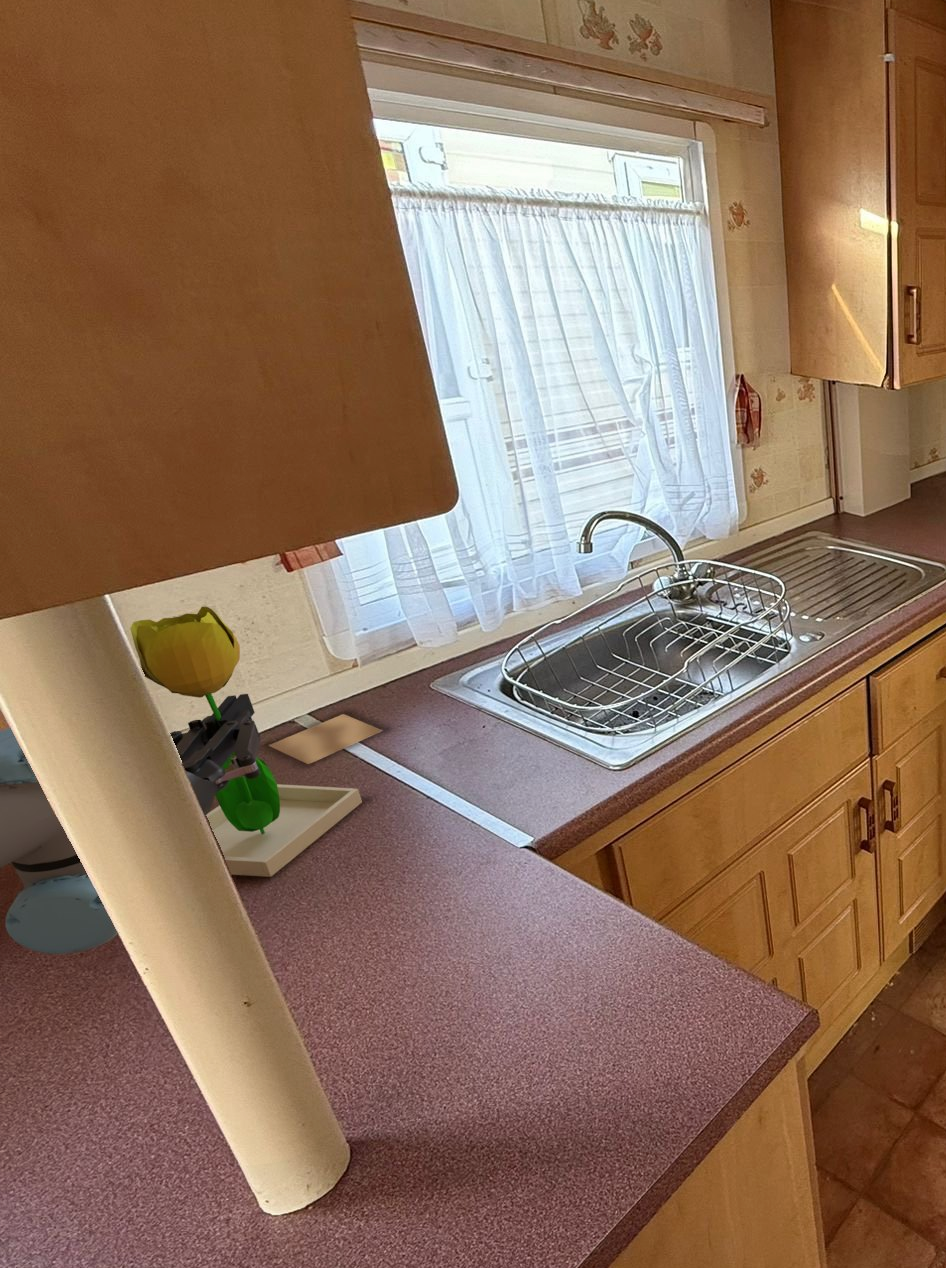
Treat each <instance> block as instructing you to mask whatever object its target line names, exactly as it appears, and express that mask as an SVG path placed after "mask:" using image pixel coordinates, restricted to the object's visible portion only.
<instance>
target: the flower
mask: <svg viewBox="0 0 946 1268" xmlns="http://www.w3.org/2000/svg"><path fill="white" fill-rule="evenodd" d="M129 628H130V633H131V636H132V641H133V645H134V649H135V651H136V653H137V656H138V659H139V664H140V669H141V668H142V670H143V672H144V674H145V676H144V677H145V678H147V679H148V680H150V681H152V682H153V683H155V684H156V685H159V686H161V687H163V688H165V689H167V690H168V691H169V692H170V693H171V694H178V695H180V696H185V697H193V698H203V697H205V698H206V700H207V703H208V705H209V707H210V709H211V711H212V714H213V713H214V715H215V718H216V720H217V722H218V721H219V720H220V718H221V715H220V713H219V710H218V706H217V704H216V701H215V698H214V696H213V694H215V693H217V692H218V691H220V690H221V689H223V688H224V687H225V686H226V685H227V684H228V683H229V681H230V679H231V678H232V675H233V673H234V671H235V668H236V667H237V665H238V664H239V662H240V657H241V654H240V653H241V645H240V643H239V642H238V640H237V637H236V635H235V634H234V632H233V631H232V630H231V629H230V628H229V626H228V625H227V624H226V623H225V621H223V619H221V617H220V616H219V615H218V614H217V613H216V612H215V611H214V610H213V609H212V608H210V607H209V606H201V607H200V608H199V610H198V612H197V613H184V614H182V615H179V616H174V617H163V618H161V619H160V620H158V621H155V620H152V619H149V618H148V619H140V620H137V621H136V620H135V621H134V622H132V624H131V626H130V627H129ZM142 670H141V671H142ZM218 724H219V722H218ZM219 727H220V725H219ZM220 728H221V727H220ZM234 756H235V755H234V752H233V754H232V755H231V756H230V757H229V758H228V760H227V761H226V762H225V763H224V765H223V766H222V767H221V768H222V769H223V770H224V769H226V768H228V767H229V764H230V763H232V762H231V757H234ZM256 764H257V766H258V769H259V772H260V775H259V776H258V777H256V778H253V779H247V778H246V777H245V776H242V777H236V778H233V779H231V780H229V783H228V785H227V786H226V787H225V788H223V789H222V790H220V791H219V792H217V793H216V794H215V798H216V800H217V802H218V806H219V805H220V807H221V809H222V811H223V813H224V815H225V816H226V818H227V820H228V821H229V822H230V823H231V824H232V825H233V826H234V827H235V828H236V829H237V830H238V831H249V832H253V831H256V830H259V829H260V832H261V834H264V833H265V832H264V829H263V828H264V827H266V826H267V825H269V824H270V823H271V822H273V821H275V820H276V819H277V818H278V817H279V813H280V800H279V793H278V787H277V784H278V783H277V781H276V779H275V777H274V774H273V773H272V771H271V769H270V767H269V766H267V763H265V761H264V760H262V759H261V758H259V757H257V760H256Z"/></svg>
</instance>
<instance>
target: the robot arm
mask: <svg viewBox="0 0 946 1268" xmlns="http://www.w3.org/2000/svg"><path fill="white" fill-rule="evenodd" d="M217 708H218V710H219V713H220V715H221V718H220V720H219V721H218V722H219V724H218V722H217V720H216V718H215V715H214V713H213V712H212V714H211V715H208V716H206V717H204V718H203V719H194V720H191V721H189V722H187V725H188V727H189V729H188V731H187V732H182V731H181V730H175V731H171V732H169V733H170V734H171V736H172V738H173V741H174V743H175V745H176V748H177V750H178V753H179V755H180V758H181V760H182V763H183V765H184V768H185V770H186V773H187V775H188V777H189V779H190V781H191V784H192V786H193V788H194V790H195V793H196V795H197V798H198V800H199V803H200V805H201V807H202V810H203V812H204V814H205V816H206V815H207V814H208V813H209V812H210V810H211V809H212V806H213V803H214V799H215V798H216V796H215V794H216V793H217V792H219V791H220V790H222V789H223V788H225V787H226V786H227V785H228V783H229V780H231V779H233V778H236V777H242V776H245V777H246V778H247V779H253V778H256V777H258V776H259V775H260V772H259V769H258V766H257V764H256V760H257V758H258V754H259V750H260V745H261V740H262V739H261V736H260V733H259V730H258V727H257V725H256V722H255V720H254V719H253V718H252V717H253V715H254V714H255V713H256V711H255V709H254V707H253V704H252V701H251V698H250V696H249V693H242V694H239V695H238V696H237V695H236V694H234V695H227V697H225V698H224V700H223V701H222V702H221V703H220V704H219V705H218V706H217ZM219 725H220V727H221V728H220V727H219ZM233 752H234V755H235V756H234V757H231V762H232V763H230V764H229V767H228V768H226V769H224V770H223V769H222V768H221V767H222V766H223V765H224V763H225V762H226V761H227V760H228V758H229V757H230V756H231V755H232V754H233ZM9 864H11V865H12V867H13V868H14V870H15V872H16V873H17V875H18V877H19V879H20V881H21V882H22V885H23V889H22V890H20V891H19V892H18V893H16V895H15V899H13V902H12V904H11V905H10V907H9V908H8V910H7V913H6V914H5V924H4V926H5V929H6V932H7V934H8V936H9V937H10V938H11V939H12V940H13V941H14V942H16V943H17V944H18V945H20V946H21V947H24V948H25V949H28V950H31V951H33V952H37V953H43V954H49V955H70V954H75V953H83V952H86V951H90V950H93V949H95V948H99V947H100V946H102V945H104V944H107V943H108V942H109V941H111V940H113V939H114V938H115V937H116V936H118V934H119V933H117V931H116V929H115V927H114V925H113V923H112V921H111V919H110V917H109V916H108V914H107V912H106V910H105V908H104V905H103V904H102V902H101V900H100V898H99V896H98V894H97V892H96V890H95V888H94V887H93V885H92V883H91V881H90V879H89V877H88V875H87V873H86V871H85V869H84V867H83V865H82V863H81V862H80V859H79V858H78V856H77V854H76V852H75V850H74V848H73V846H72V844H71V842H70V841H69V839H68V838H67V835H66V833H65V831H64V829H63V827H62V826H61V824H60V822H59V821H58V819H57V817H56V815H55V814H54V812H53V810H52V808H51V806H50V804H49V802H48V800H47V798H46V796H45V794H44V792H43V790H42V788H41V786H40V784H39V782H38V780H37V778H36V776H35V774H34V772H33V770H32V768H31V766H30V764H29V763H28V761H27V759H26V757H25V755H24V753H23V751H22V749H21V748H20V746H19V744H18V742H17V740H16V738H15V736H14V734H13V732H12V730H11V727H7V728H5V729H4V728H3V729H1V730H0V869H1V868H3V867H5V866H6V865H9Z"/></svg>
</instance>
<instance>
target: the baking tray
mask: <svg viewBox="0 0 946 1268" xmlns="http://www.w3.org/2000/svg"><path fill="white" fill-rule="evenodd" d="M276 784H277V787H278V793H279V800H280V813H279V817H278V818H277V819H276V820H275V821H273V822H271V823H270V824H269V825H267V826H266V827H264V828H263V829H264V832H265V833H264V834H261V832H260V829H259V830H256V831H253V832H249V831H238V830H237V829H236V828H235V827H234V826H233V825H232V824H231V823H230V822H229V821H228V820H227V818H226V816H225V815H224V813H223V811H222V809H221V807H220V805H219V804H218V806H216V807H215V808H213V809H212V810H211V811H209V812H208V813H207V815H206V816H207V818H208V820H209V822H210V826H211V828H212V831H213V832H214V835H215V837H216V839H217V841H218V843H219V845H220V847H221V850H222V852H223V855H224V857H225V860H226V862H227V865H228V867H229V870H230V872H231V874H230V875H234V876H251V877H268V878H269V877H273V876H274V875H275V874H276V873H277V872H279V871H280V870H281V869H282V868H284V867H285V866H287V864H288V863H290V862H291V861H292V860H293V859H295V858H296V857H297V856H298V855H300V854H301V853H302V852H303V851H305V850H306V849H307V848H309V846H310V845H312V844H313V843H314V842H316V841H317V840H318V839H320V838H321V836H323V835H324V834H326V832H328V831H329V830H330V829H331V828H332V827H334V826H335V825H336V824H338V823H339V822H340V821H341V820H342V819H343V818H345V817H346V816H347V815H348V814H350V813H352V812H353V810H354V809H356V808H357V807H359V806H360V804H362V803H363V801H362V797H361V794H360V791H359V788H352V787H351V788H350V787H334V786H333V787H332V786H317V785H316V786H314V785H299V784H298V785H297V784H279V783H276Z"/></svg>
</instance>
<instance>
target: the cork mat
mask: <svg viewBox="0 0 946 1268" xmlns="http://www.w3.org/2000/svg"><path fill="white" fill-rule="evenodd" d="M382 732H384V730H383V729H380V728H378V727H375V726H373V725H371V724H369V723H366V722H364V721H361V720H359V719H356V718H354V717H351V716H349V715H347V714H345V713H342V714H340V715H337V716H335V717H333V718H330V719H327V720H325V721H323V722H321V723H318V724H316V725H314V726H311V727H309V728H307V729H304V730H301V731H299V732H297V733H294V734H292V735H290V736H287V737H285V738H282V739H280V740H277V741H275V742H273V743H271V744H268V745H267V746H268V747H270V748H272V749H274V750H276V751H279V752H281V753H282V754H284V755H286V756H289V757H291V758H293V759H296V760H297V761H299V762H302V763H303V764H306V765H310V764H313V763H315V762H317V761H319V760H322V759H324V758H326V757H328V756H331V755H332V754H335V753H337V752H339V751H342V750H344V749H346V748H348V747H351V746H352V745H355V744H357V743H359V742H362V741H364V740H366V739H368V738H370V737H373V736H375V735H378V734H379V733H382Z"/></svg>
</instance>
